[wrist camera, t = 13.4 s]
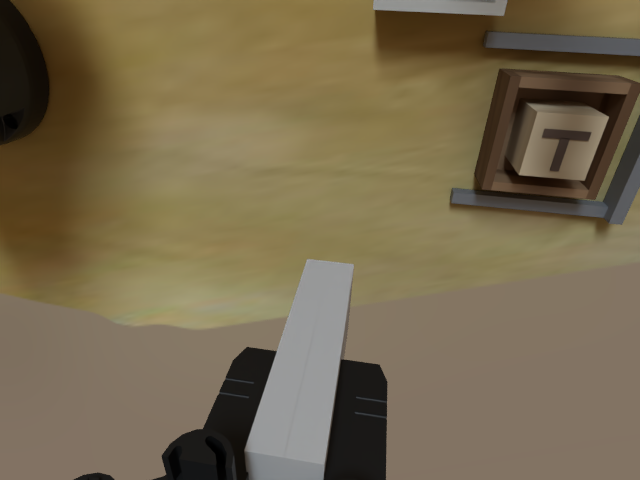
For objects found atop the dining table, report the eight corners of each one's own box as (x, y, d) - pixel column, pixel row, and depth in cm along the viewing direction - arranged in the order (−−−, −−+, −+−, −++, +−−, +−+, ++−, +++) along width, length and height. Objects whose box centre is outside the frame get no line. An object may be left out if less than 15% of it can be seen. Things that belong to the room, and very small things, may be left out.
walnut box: (474, 173, 36) (481, 189, 33) (499, 68, 31) (510, 76, 28) (577, 182, 35) (595, 199, 32) (618, 75, 30) (643, 84, 27)
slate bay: (449, 198, 37) (452, 207, 35) (486, 30, 30) (491, 32, 28) (611, 213, 36) (621, 224, 34) (687, 41, 29) (706, 43, 27)
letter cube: (504, 154, 34) (519, 175, 30) (520, 98, 32) (538, 112, 28) (562, 159, 33) (585, 181, 30) (582, 102, 31) (609, 117, 27)
